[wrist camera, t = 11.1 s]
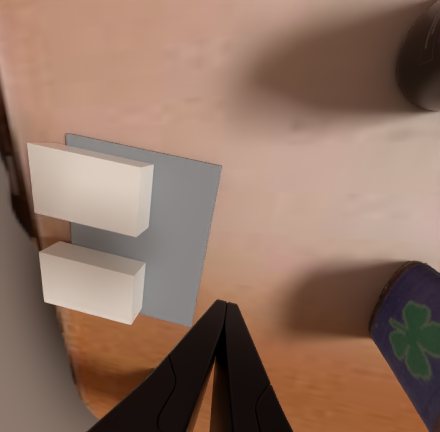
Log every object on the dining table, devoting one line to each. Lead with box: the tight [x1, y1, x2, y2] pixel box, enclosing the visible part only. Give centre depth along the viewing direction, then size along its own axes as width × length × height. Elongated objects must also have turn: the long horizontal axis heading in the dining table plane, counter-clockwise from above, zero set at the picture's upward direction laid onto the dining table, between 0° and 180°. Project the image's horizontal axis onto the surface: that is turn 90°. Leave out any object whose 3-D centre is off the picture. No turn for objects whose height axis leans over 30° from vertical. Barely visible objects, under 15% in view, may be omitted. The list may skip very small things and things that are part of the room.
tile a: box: [39, 241, 146, 325], centre depth 23 cm, size 6×2×10 cm
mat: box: [66, 133, 222, 327], centre depth 22 cm, size 18×14×1 cm
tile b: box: [27, 142, 154, 237], centre depth 19 cm, size 6×2×10 cm
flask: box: [369, 261, 440, 432], centre depth 16 cm, size 9×3×11 cm, turn 169°
